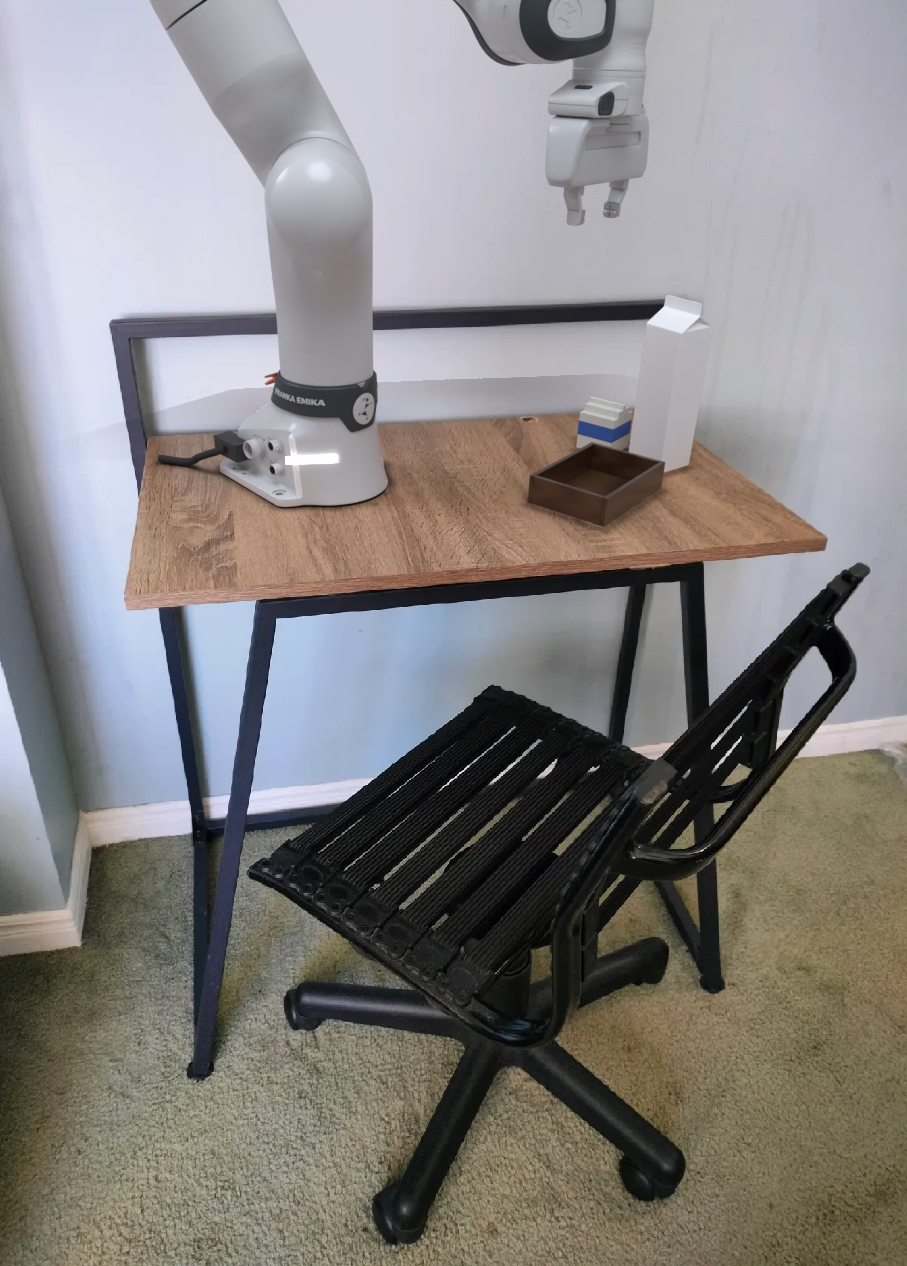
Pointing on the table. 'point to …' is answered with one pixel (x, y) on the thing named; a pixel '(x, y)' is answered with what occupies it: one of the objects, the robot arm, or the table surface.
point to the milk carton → (604, 424)
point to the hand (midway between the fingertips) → (593, 220)
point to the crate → (596, 483)
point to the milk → (671, 383)
